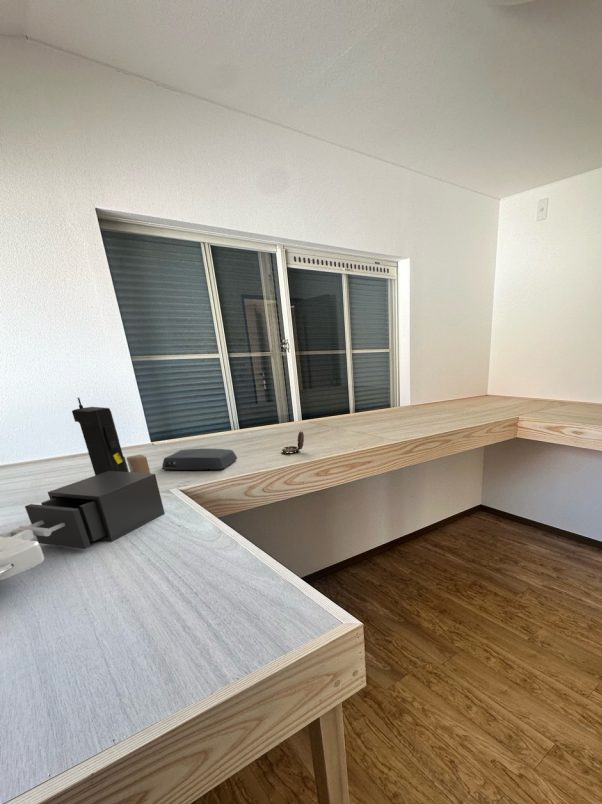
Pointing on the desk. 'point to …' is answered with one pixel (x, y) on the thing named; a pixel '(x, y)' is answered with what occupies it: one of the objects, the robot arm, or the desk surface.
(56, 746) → the desk surface
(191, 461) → the hard drive
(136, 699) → the desk surface
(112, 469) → the portable radio
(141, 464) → the wooden block
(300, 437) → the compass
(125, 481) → the air fryer
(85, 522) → the fryer drawer
